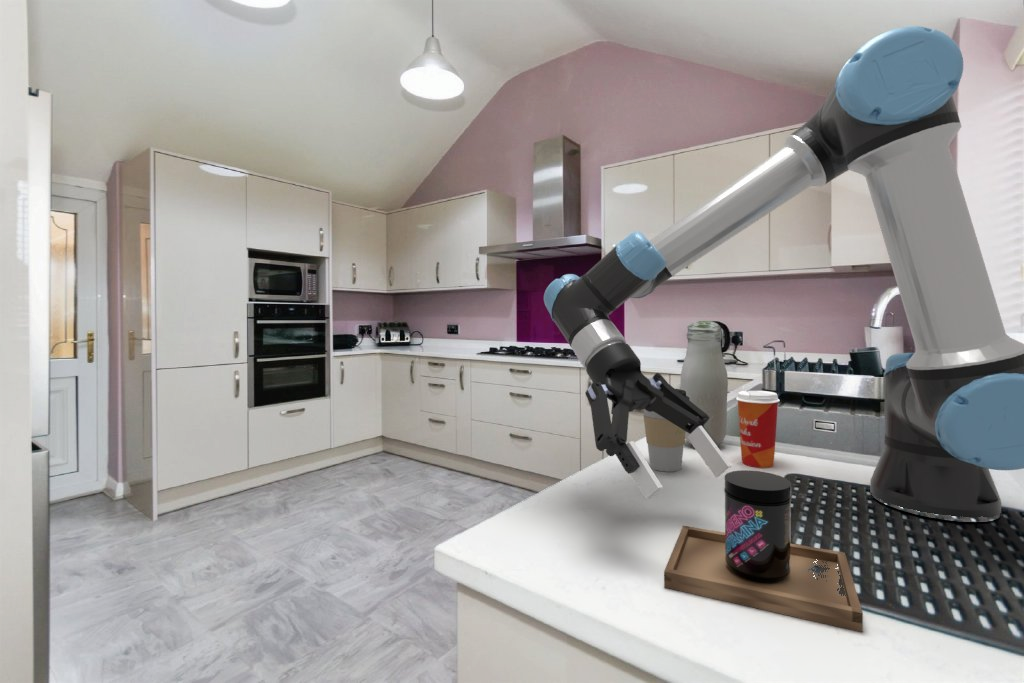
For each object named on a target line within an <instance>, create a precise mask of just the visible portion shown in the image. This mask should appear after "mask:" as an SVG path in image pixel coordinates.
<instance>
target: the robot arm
mask: <svg viewBox="0 0 1024 683" xmlns="http://www.w3.org/2000/svg"><path fill="white" fill-rule="evenodd" d="M842 66H843V67H842V68H841V69H840V71H839V73H838V75H837V77H836V81H835V83H834V85H833V87H832V89H831V91H830V92H829V94H828V95H827V97H826V99H825V100H824V101H823V103H822V105H821V106H820V107H819V108H818V109H817V111H816V112H815V113H814V114H813V115H811V117H810V118H809V119H808V120H807V121H806V122H805V123H804V124H803V125H802V126H800V127H799V128H798V129H796V130H795V131H793V132H792V133H791V134H789V135H788V136H787V137H786V138H785V142H784V146H783V147H782V148H780V149H779V150H777V151H776V152H775V153H773V154H772V155H770V156H769V157H767V158H766V159H764V160H763V161H761V162H760V163H758V164H757V165H756V166H755V167H753V168H752V169H750V170H749V171H748V172H746V173H744V174H743V175H742V176H740V177H739V178H737V179H736V180H734V181H733V182H732V183H730V184H729V185H727V186H726V187H725V188H723V189H722V190H720V191H719V192H717V193H716V194H714V195H713V196H711V197H709V198H708V199H707V200H705V201H704V202H703V203H702V204H700V205H698V206H697V207H696V208H694V209H693V210H691V211H690V212H688V213H687V214H686V215H684V216H683V217H681V218H680V219H678V220H677V221H676V222H674V223H673V224H671V225H670V226H668V227H667V228H665V229H664V230H663V231H661V232H659V233H658V234H657V235H655V236H654V237H652V238H651V239H650V240H649V239H648V238H647V237H646V236H645V235H644V233H642V232H641V231H639V230H636V231H633V232H631V233H630V234H628V235H627V236H626V237H625V238H623V239H622V240H620V241H618V242H617V244H616V246H614V247H613V248H612V249H611V250H610V251H609V252H608V253H607V254H605V255H604V256H603V258H601V259H600V260H598V262H597V263H596V264H595V265H594V266H592V267H591V268H590V269H589V270H588V271H586V273H585V274H583V275H581V276H578V275H577V274H574V273H566V274H564V275H562V276H561V277H560V278H555V279H553V281H551V282H550V284H549V285H548V286H547V287H546V289H545V291H544V294H543V303H544V305H545V307H546V309H547V312H548V313H549V315H550V318H551V320H552V322H554V323H555V325H556V326H557V328H558V330H559V331H560V332H561V334H562V335H563V337H564V339H565V340H566V342H567V343H568V345H569V347H570V348H571V349H572V351H573V353H574V354H575V355H576V357H577V359H578V361H579V362H580V364H581V366H582V367H583V369H584V370H585V369H586V371H585V372H586V374H587V375H588V377H589V379H590V380H591V382H592V383H591V384H590V386H588V388H587V389H586V391H585V397H586V398H587V401H588V402H589V405H590V411H591V419H592V426H593V433H594V441H595V447H596V449H597V450H598V451H600V452H603V451H605V452H606V454H607V455H608V456H610V457H614V456H616V457H617V459H618V461H619V463H620V464H621V466H622V468H623V469H624V471H625V472H626V473H627V474H630V475H631V477H632V478H633V480H634V482H635V483H636V486H637V487H638V488H639V490H640V492H641V494H642V495H643V497H644V498H645V500H649V499H651V498H653V496H655V494H656V493H658V492H659V491H660V490H661V489H662V488H663V485H662V484H661V482H660V480H659V479H658V478H657V476H656V474H655V473H654V471H653V469H652V468H651V467H650V464H649V463H648V461H647V460H646V458H645V456H644V455H643V453H641V450H640V449H639V447H638V446H637V445H636V443H635V441H634V440H632V441H628V429H629V416H630V415H629V414H630V413H631V412H634V411H635V410H637V411H641V410H643V411H644V409H645V410H647V411H649V412H652V411H653V412H655V413H657V414H658V415H660V416H662V417H663V418H665V419H667V420H668V421H670V422H671V423H673V424H675V425H676V426H678V427H680V428H681V429H683V430H684V431H686V432H688V433H689V434H690V435H689V436H688V437H687V438H688V439H689V441H690V442H691V443H692V444H691V443H690V444H691V445H692V446H693V447H694V449H695V451H696V452H697V453H698V456H700V458H701V459H702V460H703V461H704V463H705V465H706V466H707V467H708V469H709V470H710V472H711V473H712V475H713V476H714V477H715V478H717V477H719V476H721V475H722V474H723V473H725V472H726V471H727V470H728V469H729V468H731V467H732V464H731V463H730V461H729V460H728V459H727V458H726V456H725V454H723V452H722V451H721V449H720V448H719V447H718V445H716V442H715V441H714V440H713V438H712V437H711V436H710V434H709V433H708V432H707V430H706V429H705V427H704V424H705V423H706V422H707V421H708V420H709V416H708V415H707V414H706V413H704V412H703V411H702V410H701V409H699V408H698V407H697V406H696V405H694V404H693V403H692V402H691V401H689V400H688V399H687V398H686V397H684V396H683V395H682V394H681V393H679V392H678V391H677V390H676V389H677V388H675V387H673V386H672V385H671V384H669V382H668V381H667V380H666V379H665V377H664V376H663V375H662V374H661V373H659V372H656V373H655V374H654V375H653V376H652V377H650V378H648V377H647V376H645V375H644V374H643V373H642V369H641V366H642V364H641V360H640V359H639V357H638V355H637V354H636V352H635V351H634V350H633V349H632V347H631V345H629V344H628V343H627V341H626V338H625V337H624V336H623V334H622V333H621V331H620V330H619V329H618V328H617V326H616V325H615V324H614V323H613V321H612V320H611V318H610V317H609V315H611V314H612V313H613V312H615V311H616V310H617V309H618V308H620V306H622V305H623V304H624V303H626V302H627V301H628V300H629V299H630V298H631V299H641V298H644V297H646V296H648V295H650V294H651V293H653V292H654V291H655V289H657V288H658V287H659V286H660V285H662V284H663V283H665V282H666V281H668V280H670V279H672V277H674V276H676V274H678V273H680V272H681V271H683V270H684V269H686V268H688V267H690V265H692V264H693V263H696V261H698V260H699V259H701V258H703V257H704V256H706V255H708V254H709V253H710V252H712V251H714V250H716V248H718V247H719V246H722V244H724V243H726V242H727V241H728V240H730V239H733V238H734V237H735V236H736V235H738V234H740V233H741V232H743V231H745V230H746V229H747V228H748V227H750V226H751V225H753V224H755V223H756V222H758V221H759V220H761V219H763V218H764V217H765V216H767V215H768V214H770V213H772V212H773V211H775V210H776V209H778V208H779V207H781V206H783V205H784V204H786V203H787V202H788V201H790V200H792V199H793V198H795V197H796V196H798V195H799V194H802V192H804V191H806V190H807V189H808V188H810V187H820V188H821V187H824V186H825V185H826V184H828V183H830V182H831V181H833V180H834V179H836V178H837V177H839V176H841V175H842V174H845V173H846V172H848V171H851V172H853V173H857V174H859V175H862V176H863V177H865V180H866V183H867V187H868V190H869V194H870V197H871V201H872V204H873V207H874V211H875V213H876V214H875V215H876V217H877V218H876V219H877V221H878V225H879V227H880V231H881V234H882V238H883V241H884V245H885V248H886V252H887V255H888V259H889V262H890V265H891V268H892V272H893V275H894V278H895V282H896V284H897V289H898V292H899V294H900V298H901V302H902V305H903V309H904V312H905V315H906V319H907V323H908V325H909V326H908V327H909V329H910V333H911V336H912V339H913V343H914V347H915V352H900V353H895V354H891V355H889V357H887V359H886V361H885V370H884V372H883V379H884V445H883V451H882V452H881V455H880V458H879V459H878V462H877V464H876V467H875V469H874V470H873V472H872V476H871V478H870V482H869V485H870V487H869V489H870V490H869V491H870V492H871V493H872V494H873V495H874V496H876V497H877V498H879V499H881V500H883V501H886V502H888V503H891V504H894V505H897V506H900V507H903V508H907V509H913V510H917V511H920V512H927V513H934V514H942V515H951V516H959V517H960V516H961V517H962V516H963V517H981V516H983V517H994V516H996V515H998V514H1000V513H1001V514H1002V501H1001V500H1002V499H1001V496H1000V494H999V492H998V489H997V487H996V484H995V482H994V479H993V476H992V474H991V472H990V470H997V471H1016V470H1017V471H1018V470H1022V469H1024V343H1023V342H1021V341H1019V340H1016V339H1015V338H1012V337H1010V336H1009V335H1008V334H1007V333H1006V330H1005V326H1004V323H1003V319H1002V317H1001V314H1000V311H999V306H998V304H997V300H996V297H995V294H994V290H993V287H992V284H991V280H990V277H989V274H988V270H987V267H986V264H985V261H984V260H985V259H984V258H983V257H984V256H983V254H982V251H981V247H980V244H979V241H978V236H977V233H976V231H975V227H974V225H973V221H972V218H971V214H970V211H969V209H968V205H967V201H966V198H965V195H964V191H963V188H962V184H961V181H960V179H959V178H960V177H959V175H958V172H957V168H956V165H955V161H954V159H953V155H952V152H951V148H950V145H951V143H952V141H953V140H954V139H955V137H956V136H957V134H958V132H959V131H960V130H961V128H962V124H961V120H960V117H959V114H958V110H957V106H956V104H955V100H954V97H953V95H954V94H955V93H956V91H958V90H957V89H958V87H959V86H960V83H961V79H962V77H963V72H964V58H963V53H962V51H961V49H960V47H959V45H958V44H957V42H955V40H954V39H953V38H952V37H950V36H949V35H948V34H946V33H944V32H943V31H940V30H938V29H932V28H928V27H924V26H918V25H914V26H902V27H898V28H894V29H890V30H888V31H885V32H883V33H881V34H879V35H876V36H875V37H873V38H871V39H870V40H868V41H867V42H865V43H864V44H863V45H861V47H860V48H859V49H858V50H857V51H855V53H854V54H852V57H851V58H849V59H848V60H847V61H846V62H845V64H844V65H842ZM652 395H653V396H655V397H654V399H653V400H652ZM608 400H610V401H611V411H610V408H609V401H608ZM651 400H652V401H651ZM697 416H698V417H697ZM688 423H689V424H690V425H689V424H688ZM627 441H628V443H627Z"/></svg>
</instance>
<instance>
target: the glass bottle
mask: <svg viewBox="0 0 1024 683" xmlns="http://www.w3.org/2000/svg"><path fill="white" fill-rule="evenodd" d="M721 327H722V326H721V325H719V324H718V323H717V322H715V321H713V320H712V321H711V320H709V321H708V320H700V321H695V322H692V323H690V324H689V325H688V326H687V331H686V332H687V333H686V339H687V346H686V352H685V357H684V360H683V363H682V366H681V372H680V389H681V390H684V391H686V396H688V397H689V398H690V399H689V400H690V401H691V402H692V403H693V404H694V405H696V406H697V407H698V408H699V409H701V410H702V411H703V412H704V413H706V414H707V415H708V416H709V420H708V421H707V422H706V423H705V424H704V427H705V429H706V430H707V432H708V433H709V434H710V436H711V437H712V438H713V440H714V441H715V442H716V445H717V446H718V445H720V444H721V443H722V442H724V440H725V438H726V435H727V424H728V417H727V416H728V407H727V406H728V389H729V388H728V386H729V385H728V384H729V382H728V381H729V379H728V372H727V368H726V364H725V360H724V356H723V352H722V345H721V344H722V343H721V341H722V338H723V337H722V336H723V335H722V330H721V329H722V328H721ZM697 417H698V416H697ZM688 424H689V423H688ZM689 425H690V424H689ZM689 435H690V434H689V433H688V432H686V434H685V441H687V442H688V443H689V444H691V445H692V443H691V442H690V441H689V439H688V438H687V437H688V436H689Z"/></svg>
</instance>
